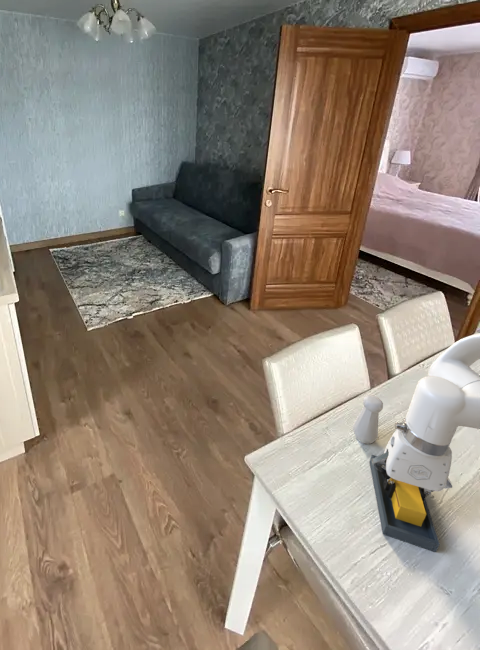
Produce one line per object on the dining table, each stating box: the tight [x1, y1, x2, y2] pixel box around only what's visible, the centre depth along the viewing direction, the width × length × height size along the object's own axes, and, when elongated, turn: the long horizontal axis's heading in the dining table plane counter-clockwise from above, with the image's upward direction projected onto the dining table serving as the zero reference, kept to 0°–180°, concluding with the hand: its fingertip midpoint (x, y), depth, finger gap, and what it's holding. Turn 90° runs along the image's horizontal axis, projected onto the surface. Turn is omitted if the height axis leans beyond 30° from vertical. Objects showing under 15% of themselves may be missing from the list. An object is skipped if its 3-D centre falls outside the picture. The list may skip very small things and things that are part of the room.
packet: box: [391, 480, 426, 527], centre depth 74 cm, size 11×4×4 cm, turn 161°
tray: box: [369, 454, 441, 553], centre depth 75 cm, size 9×16×2 cm, turn 161°
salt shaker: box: [352, 394, 384, 445], centre depth 87 cm, size 6×6×13 cm
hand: (401, 494), depth 74 cm, fingers closed on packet, 4 cm apart
